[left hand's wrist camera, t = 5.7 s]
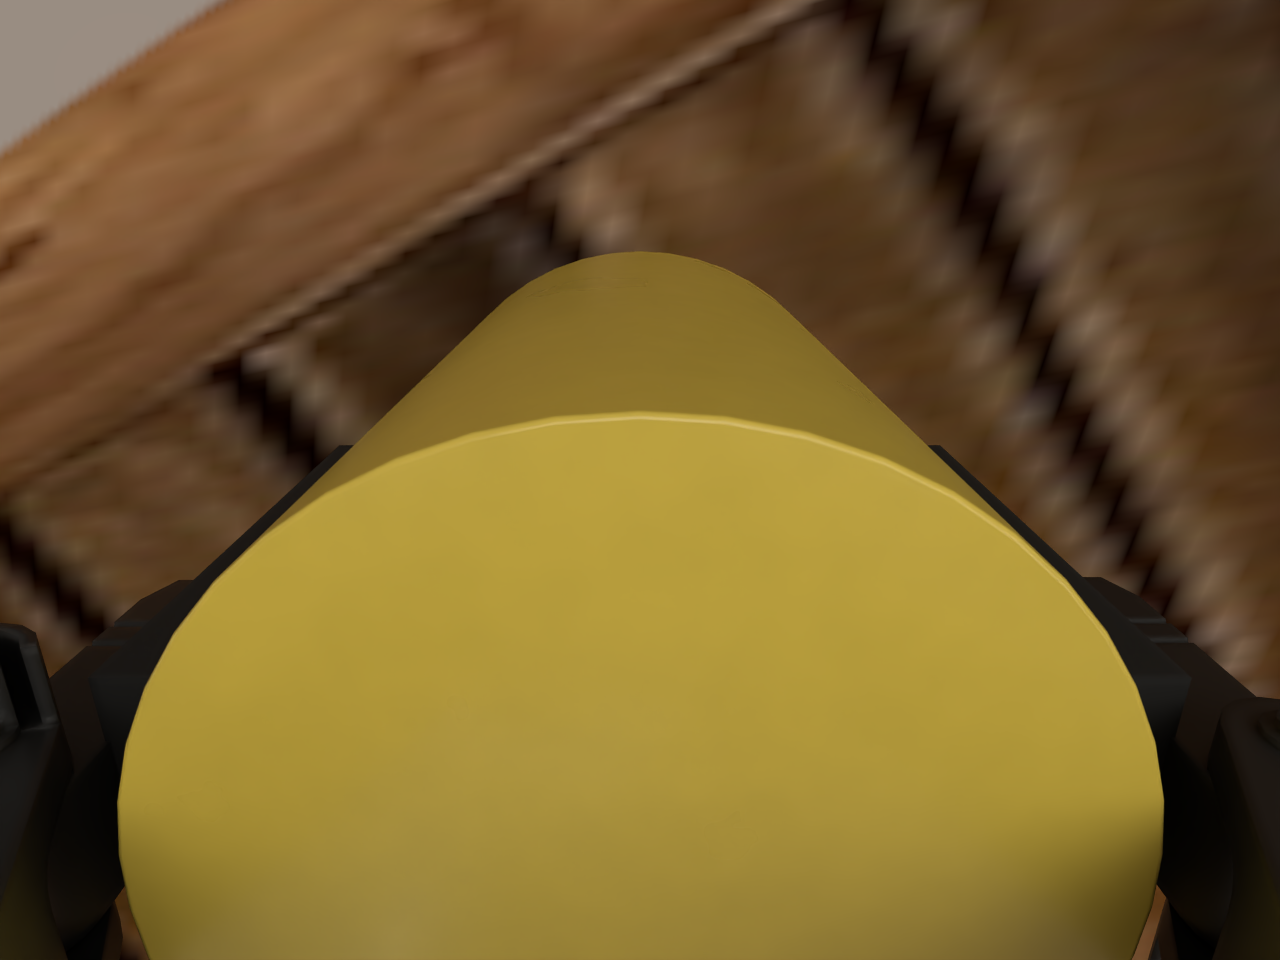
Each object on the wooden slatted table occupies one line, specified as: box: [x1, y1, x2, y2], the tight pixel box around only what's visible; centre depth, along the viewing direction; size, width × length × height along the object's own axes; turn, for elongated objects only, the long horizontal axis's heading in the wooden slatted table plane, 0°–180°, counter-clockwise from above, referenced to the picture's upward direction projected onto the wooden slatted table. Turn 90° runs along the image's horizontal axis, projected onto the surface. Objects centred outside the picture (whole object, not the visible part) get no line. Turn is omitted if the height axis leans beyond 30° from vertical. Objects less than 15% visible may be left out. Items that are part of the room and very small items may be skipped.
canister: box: [117, 251, 1164, 960], centre depth 12 cm, size 8×8×11 cm
